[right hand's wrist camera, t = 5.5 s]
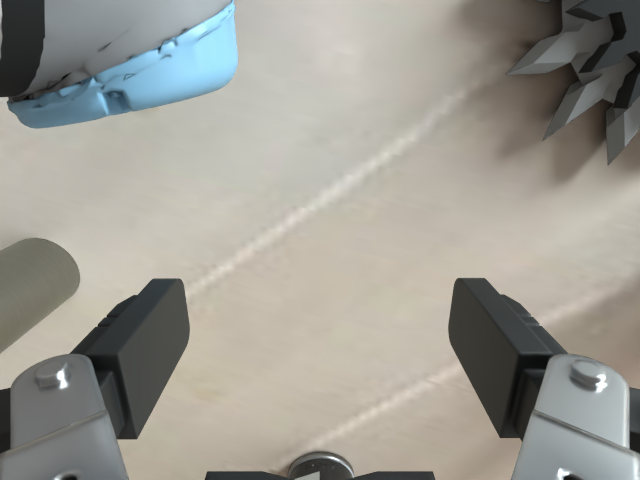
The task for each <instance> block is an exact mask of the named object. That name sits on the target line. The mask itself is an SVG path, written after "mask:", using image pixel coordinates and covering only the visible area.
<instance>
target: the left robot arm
mask: <svg viewBox="0 0 640 480" xmlns="http://www.w3.org/2000/svg"><path fill="white" fill-rule="evenodd" d="M233 3H234V0H0V97H9V100H8V101H7V105H8V108H9V110H10V111H11V112H13V113H15V114H16V116H17V117H18V119H19V121H20V122H21V123H22V124H24V125H26V126H28V127H30V128H49V127H56V126H63V125H69V124H75V123H81V122H86V121H91V120H96V119H100V118H103V117H106V116H109V115H117V114H122V113H127V112H130V111H138V110H143V109H148V108H153V107H157V106H162V105H166V104H170V103H174V102H178V101H182V100H186V99H190V98H193V97H197V96H200V95H204V94H207V93H210V92H213V91H216V90H218V89H220V88H222V87H224V86H225V85H226V84H227V83H229V81H230V80H231V79H232V77H233V76H234V74H235V71H236V68H237V63H238V55H237V44H236V34H235V22H234V12H235V9H236V7H235V6H234V4H233Z"/></svg>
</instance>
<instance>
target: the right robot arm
mask: <svg viewBox="0 0 640 480" xmlns="http://www.w3.org/2000/svg"><path fill="white" fill-rule="evenodd" d="M448 331H449V339H450V343H451V345H452V348H453V349H454V351H455V353H456V355H457V357H458V359H459V361H460V363H461V365H462V367H463V368H464V370H465V372H466V374H467V376H468V378H469V380H470V382H471V384H472V386H473V387H474V389H475V391H476V393H477V395H478V397H479V399H480V401H481V403H482V405H483V406H484V408H485V410H486V412H487V414H488V416H489V418H490V420H491V422H492V424H493V425H494V427H495V429H496V431H497V433H498V435H499V437H500V438H520V439H521V441H522V445H521V449H520V452H519V455H518V458H517V462H516V465H515V468H514V471H513V474H512V478H511V480H640V389H635V388H630V387H629V386H628V384H627V382H626V381H625V379H624V378H623V377H622V376H621V375H620V374H619V373H617V372H616V371H615V370H613V369H612V368H610V367H609V366H607V365H605V364H603V363H601V362H599V361H597V360H594V359H591V358H588V357H585V356H580V355H575V354H568V353H567V352H566V351H565V350H564V349H563V348H562V347H561V346H560V345H559V344H558V343H557V342H556V340H555V339H554V338H553V337H552V336H551V335H550V334H549V333H548V332H547V331H546V330H545V329H544V328H543V327H542V326H539V323H538V322H537V321H536V320H535V319H534V318H533V317H531V315H530V313H529V312H528V311H527V310H526V309H525V308H524V307H523V306H522V305H521V304H520V303H518V302H516V301H514V300H513V299H511V298H509V297H507V296H506V295H500V294H499V293H498V292H497V291H496V290H495V289H494V287H493V286H492V285H491V284H490V283H489V282H488V281H487V280H486V279H485V278H457V279H456V281H455V284H454V289H453V296H452V303H451V311H450V318H449V326H448ZM189 332H190V326H189V318H188V311H187V304H186V297H185V290H184V285H183V282H182V280H181V279H152V280H151V281H150V282H149V283H148V284H147V285H146V287H145V288H144V289H143V290H142V291H141V292H140V293H139V294H138V295H133V296H131V297H130V298H128V299H126V300H124V301H123V302H121V303H119V304H117V305H116V306H115V307H114V308H113V309H112V310H111V312H110V313H109V314H108V315H107V318H104V319H103V320H102V321H101V322H100V323H99V324H98V327H95V328H94V329H93V330H92V331H91V332H90V333H89V334H88V335H87V336H86V337H85V338H84V339H83V340H82V341H81V342H80V343H79V344H78V345H77V347H76V348H75V349H74V350H73V351H72V352H71V353H70V354H65V355H60V356H55V357H52V358H49V359H46V360H43V361H41V362H39V363H37V364H35V365H33V366H31V367H30V368H28V369H27V370H25V371H24V372H23V373H21V374H20V375H19V376H18V377H17V378H16V379H15V381H14V382H13V384H12V386H11V388H8V389H3V390H0V480H129V478H128V474H127V471H126V468H125V465H124V462H123V458H122V455H121V452H120V449H119V445H118V442H117V439H137V438H138V436H139V435H140V433H141V431H142V429H143V427H144V425H145V423H146V421H147V420H148V418H149V416H150V414H151V412H152V410H153V408H154V406H155V405H156V403H157V401H158V399H159V397H160V395H161V393H162V391H163V390H164V388H165V386H166V384H167V382H168V380H169V378H170V376H171V375H172V373H173V371H174V369H175V367H176V365H177V363H178V361H179V360H180V358H181V356H182V354H183V352H184V350H185V348H186V346H187V344H188V340H189ZM205 480H435V477H434V474H433V472H373V473H370V474H366V475H362V476H358V477H354V472H353V469H352V467H351V465H350V464H349V463H348V462H347V461H346V460H345V459H344V458H342V457H340V456H338V455H336V454H333V453H328V452H314V453H309V454H306V455H304V456H301V457H300V458H298V459H297V460H296V461H294V462H293V464H292V465H291V467H290V469H289V472H288V478H286V477H282V476H278V475H274V474H270V473H267V472H207V474H206V477H205Z"/></svg>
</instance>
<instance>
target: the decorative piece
mask: <svg viewBox="0 0 640 480" xmlns="http://www.w3.org/2000/svg"><path fill="white" fill-rule="evenodd" d="M537 1H542V2H546V3H547V2H549V1H551V0H537ZM568 63H571V65H572V66H573V68H574V70H575V72H576V74H577V76H578V78H579V79H580V80H579V81H577V82H575V83H573V84H571V85H570V86H569V88H568V90H567V92H566V94H565V96H564V98H563V100H562V102H561V104H560V106H559V107H558V109H557V111H556V113H555V115H554V117H553V119H552V121H551V123H550V125H549V127H548V129H547V131H546V133H545V136H544V138H543V140H545V139H546V138H548V137H549V136H550V135H552V134H553V133H555V132H556V131H558V130H559V129H560V128H562V127H563V126H565V125H566V124H568V123H569V122H570V121H572V120H573V119H575V118H576V117H578V116H579V115H580V114H582V113H583V112H585V111H586V110H587V109H589V108H590V107H592V106H593V105H594V104H596V103H597V102H599V101H600V100H601V99H604V100H606V101H609V102H611V103H613V105H612V106H611V107H610V108H609V109H608V110H607V111H606V137H607V160H608V165H609V164H610V163H611V162H612V161H613V160H614V159H615V157H616V156H617V155H618V154H619V153H620V152H621V151H622V150H623V149H624V148H625V147H626V145H627V144H628V143H629V142H630V140H631V139H632V138H633V137H634V135H635V134H636V133H637V132H638V130H639V129H640V0H562V31H561V32H560V33H559V35H555V36H550V37H547V38H545V39H542V40H540V41H539V42H538V43H537V44H536V45H535V46H534V47H533V48H532V49H531V50H530V51H529V52H528V53H527V54H526V55H525V56H524V57H523V58H522V59H521V60H520V61H519V62H518V63H517V64H516V65H515V66H514V67H513V68H512V69H511V70H510V71H509V72H508V73H506V74H505V75H516V74H540V73H548V72H550V71H552V70H555V69H557V68H559V67H561V66H563V65H565V64H568ZM543 140H542V141H543Z"/></svg>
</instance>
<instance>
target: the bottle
mask: <svg viewBox="0 0 640 480" xmlns="http://www.w3.org/2000/svg"><path fill="white" fill-rule="evenodd" d="M79 282H80V274H79V270H78V267H77V265H76V263H75V261H74V260H73V258H72V257H71V256H70V254H69V253H68V252H67V251H66V250H64V249H63V248H62V247H60V246H59V245H57V244H55V243H53V242H51V241H48V240H44V239H38V238H30V239H25V240H22V241H19V242H17V243H15V244H13V245H11V246H9V247H7V248H5V249H3V250H1V251H0V354H1V353H2V352H3V351H4V350H5V349H7V348H8V347H9V346H10V345H12V344H13V343H14V342H15V341H17V340H18V339H19V338H20V337H22V336H23V335H24V334H25V333H27V332H28V331H29V330H30V329H31V328H33V327H34V326H35V325H36V324H38V323H39V322H40V321H41V320H43V319H44V318H45V317H46V316H48V315H49V314H50V313H51V312H53V311H54V310H55V309H56V308H58V307H59V306H60V305H61V304H62V303H64V302H65V301H66V300H67V299H69V298H70V297H71V296H72V295H73V294H74V293H75V292H76V290H77V289H78V286H79Z"/></svg>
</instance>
